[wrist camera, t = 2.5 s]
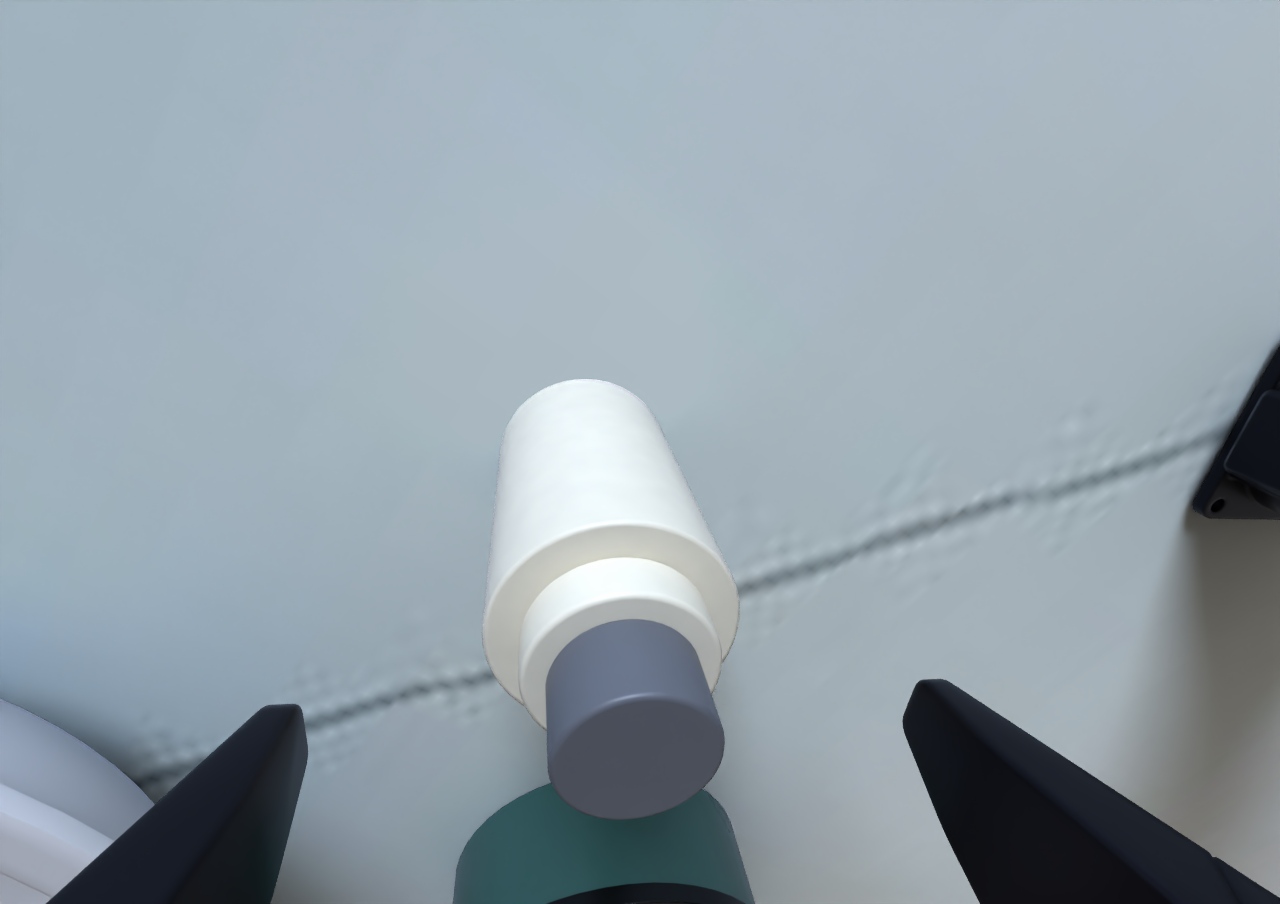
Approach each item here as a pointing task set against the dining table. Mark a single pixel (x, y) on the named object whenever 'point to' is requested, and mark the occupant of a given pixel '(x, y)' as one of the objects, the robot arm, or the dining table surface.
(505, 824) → the enamel tin
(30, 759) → the soup bowl
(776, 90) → the dining table surface
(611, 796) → the bottle
